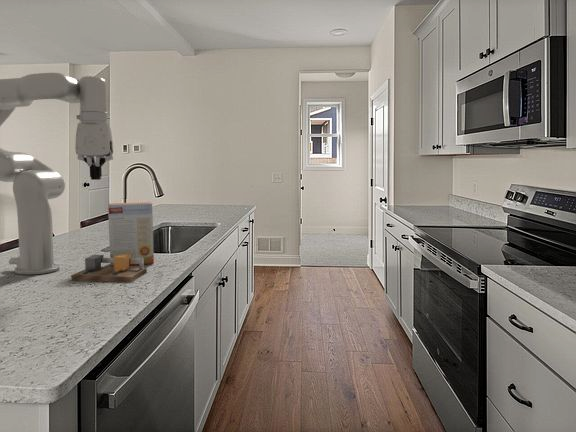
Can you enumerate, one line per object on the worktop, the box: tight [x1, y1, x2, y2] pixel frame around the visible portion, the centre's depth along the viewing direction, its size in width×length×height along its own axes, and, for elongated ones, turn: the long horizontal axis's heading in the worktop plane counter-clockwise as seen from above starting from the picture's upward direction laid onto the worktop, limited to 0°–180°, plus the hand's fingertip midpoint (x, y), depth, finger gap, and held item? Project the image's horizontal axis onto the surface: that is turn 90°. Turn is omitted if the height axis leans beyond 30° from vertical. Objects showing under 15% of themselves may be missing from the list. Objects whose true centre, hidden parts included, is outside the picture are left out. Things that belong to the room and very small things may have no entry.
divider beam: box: [84, 254, 145, 274], centre depth 146 cm, size 17×9×4 cm, turn 86°
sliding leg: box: [113, 254, 131, 273], centre depth 146 cm, size 3×10×4 cm, turn 176°
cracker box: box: [107, 201, 155, 267], centre depth 163 cm, size 14×6×21 cm, turn 113°
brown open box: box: [70, 266, 148, 283], centre depth 145 cm, size 18×12×2 cm, turn 86°
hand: (95, 179), depth 148 cm, fingers closed
